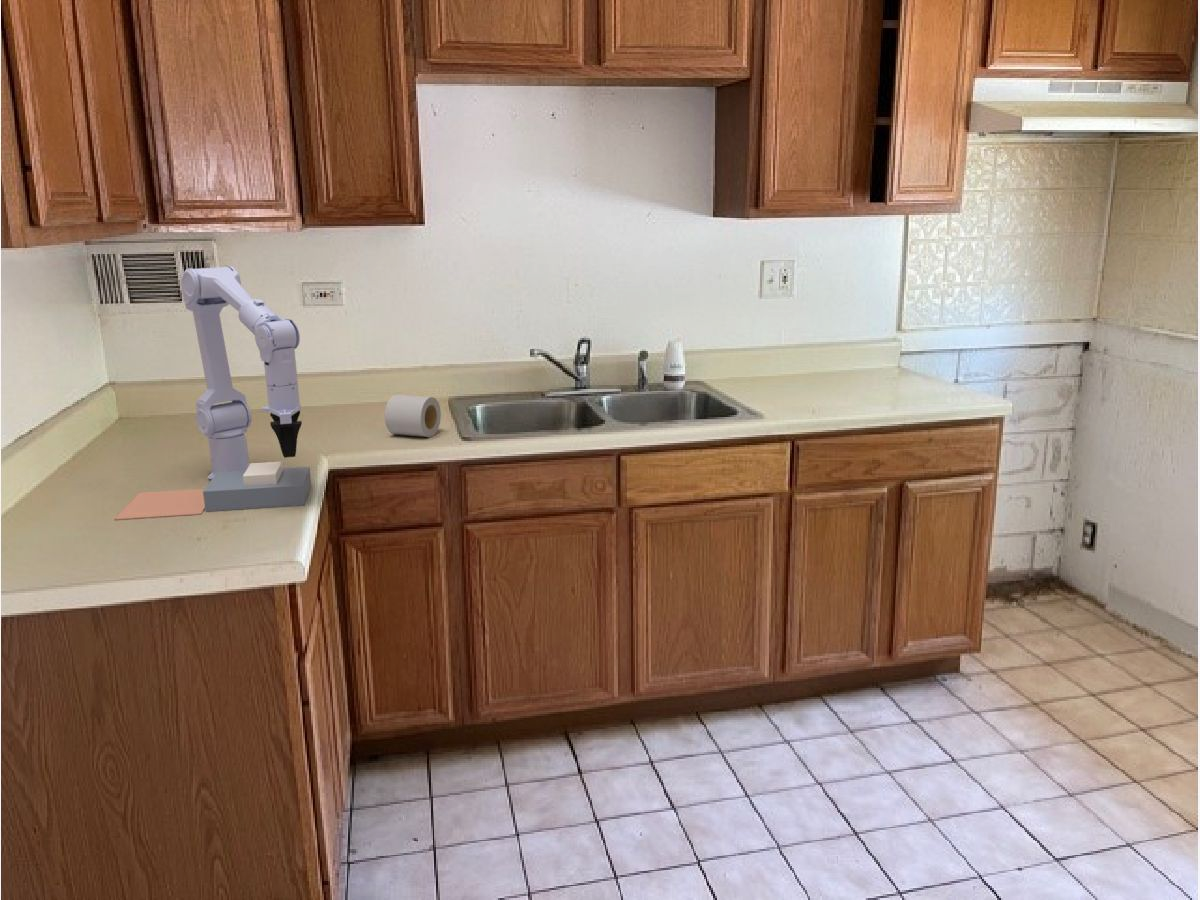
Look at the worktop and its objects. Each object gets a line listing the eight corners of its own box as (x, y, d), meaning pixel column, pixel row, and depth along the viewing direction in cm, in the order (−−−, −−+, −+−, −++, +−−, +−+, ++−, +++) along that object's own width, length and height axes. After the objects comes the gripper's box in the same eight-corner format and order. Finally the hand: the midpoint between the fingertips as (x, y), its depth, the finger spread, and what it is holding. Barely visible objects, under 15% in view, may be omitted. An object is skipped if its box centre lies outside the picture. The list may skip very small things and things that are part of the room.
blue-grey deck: (219, 490, 183) (217, 472, 182) (311, 485, 186) (309, 466, 185) (205, 511, 171) (202, 491, 169) (304, 505, 174) (302, 485, 173)
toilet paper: (386, 438, 223) (383, 399, 220) (407, 428, 232) (404, 391, 230) (422, 441, 220) (419, 401, 217) (441, 431, 229) (439, 393, 226)
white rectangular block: (251, 472, 181) (250, 463, 181) (282, 470, 182) (281, 461, 182) (243, 486, 173) (242, 476, 172) (276, 484, 174) (275, 474, 173)
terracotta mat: (140, 493, 181) (139, 492, 181) (218, 488, 184) (218, 487, 184) (115, 520, 166) (114, 519, 166) (201, 514, 169) (200, 513, 169)
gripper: (260, 378, 177) (267, 444, 181) (259, 392, 164) (267, 463, 168) (297, 375, 180) (304, 441, 183) (300, 389, 167) (306, 459, 170)
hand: (289, 451), depth 176 cm, fingers open, 7 cm apart
